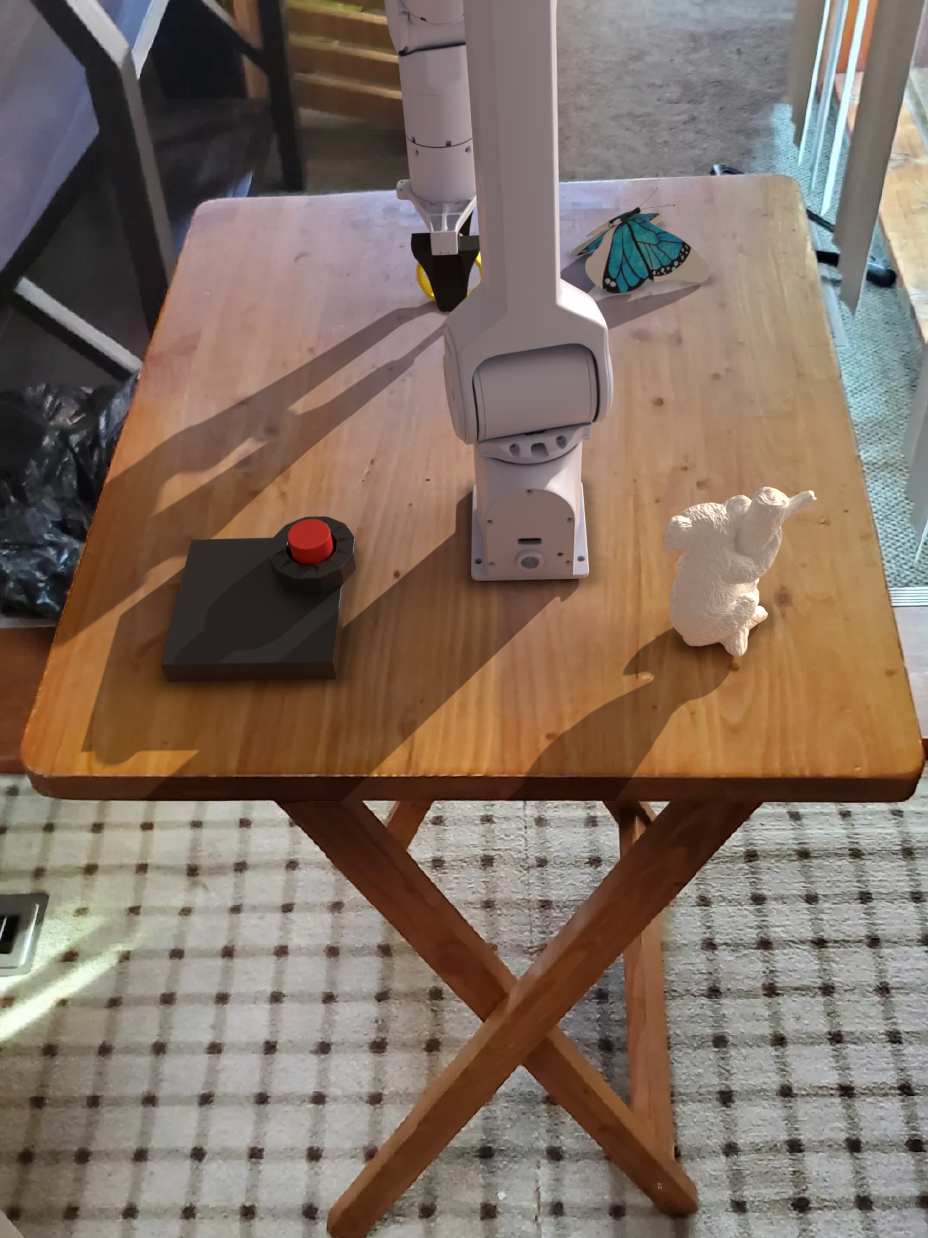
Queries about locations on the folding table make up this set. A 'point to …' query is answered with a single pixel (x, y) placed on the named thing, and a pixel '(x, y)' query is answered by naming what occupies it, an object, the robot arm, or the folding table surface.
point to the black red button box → (259, 610)
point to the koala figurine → (726, 564)
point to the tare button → (310, 542)
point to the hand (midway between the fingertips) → (452, 284)
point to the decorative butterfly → (639, 254)
